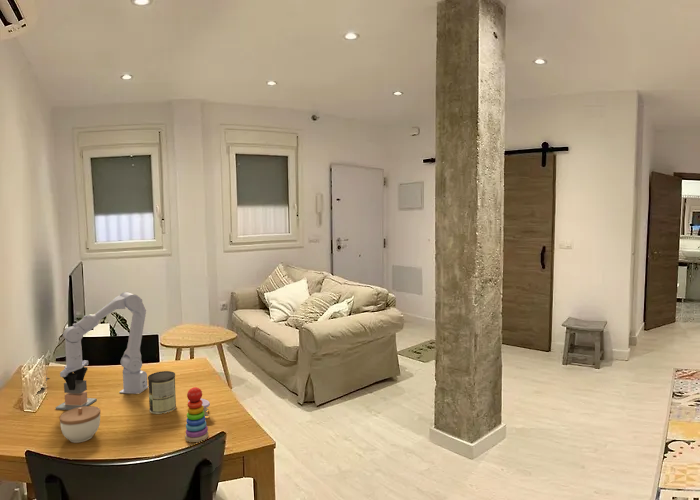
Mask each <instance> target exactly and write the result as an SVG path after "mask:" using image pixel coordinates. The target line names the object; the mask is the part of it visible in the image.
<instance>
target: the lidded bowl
mask: <svg viewBox="0 0 700 500" xmlns="http://www.w3.org/2000/svg"><path fill="white" fill-rule="evenodd" d="M59 423H60V424H59V425H60V429H61V433H62V436H63V437H65V439H67V440H68V441H70V443H74V444H78V443H84V442H86V441H89V440H91V439H92V438H93V437H94V435H95V434H96V432H97V431H98V429H99V427H100V423H101V409H100V407H98V406H95V405H92V406H91V405H89V406H83V407H78V408H74V409H71V410H65V411H64V412H63V413H62V414H60V416H59Z"/></svg>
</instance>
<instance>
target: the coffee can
mask: <svg viewBox="0 0 700 500" xmlns="http://www.w3.org/2000/svg"><path fill="white" fill-rule="evenodd" d="M147 385H148V401H149V403H148V404H149V410H148V411H149V413H150V414H153V415H163V414H162V413H164V414H168V413H170V411H171V412H173V411H174V410H176V408H177V401H176V396H177V395H176V373H175V372H174V371H171V370H162V371H156V372H154V373H151V374H149V375H147ZM175 407H176V408H175ZM172 410H173V411H172ZM167 412H168V413H167Z"/></svg>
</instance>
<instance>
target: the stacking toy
mask: <svg viewBox="0 0 700 500" xmlns="http://www.w3.org/2000/svg"><path fill="white" fill-rule="evenodd" d="M202 397H203V391H202V389H201V388H199V387H196V386H195V387H194V386H193V387H191V388H190V389H188V391H187V394H186V398H187V400H189V402H188V401H187V407H188V408H187V412H186V420H185V422H186V424H185V435H184V440H185V441H186V442H188V441H189V442H188V443H191V442H196V443H201V442H203V441H205V440H206V439H207V438H208V437H209V431H208V430H209V428H208V425H207V421H206V419H207V418H205V416H204V411H203V410H204V407H203V406H202V404H203V402H202V400H200V399H202ZM202 440H203V441H202ZM200 441H201V442H200Z"/></svg>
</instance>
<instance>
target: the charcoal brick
mask: <svg viewBox="0 0 700 500" xmlns="http://www.w3.org/2000/svg"><path fill="white" fill-rule="evenodd" d="M87 387H88V386H87V380H85V379H84V380H76V382H75V390H69V388H68V385H67V383H66V382H64V383H63V391H64V393H65V394H67V393H82V392H86V391H87V390H88V389H87Z"/></svg>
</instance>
